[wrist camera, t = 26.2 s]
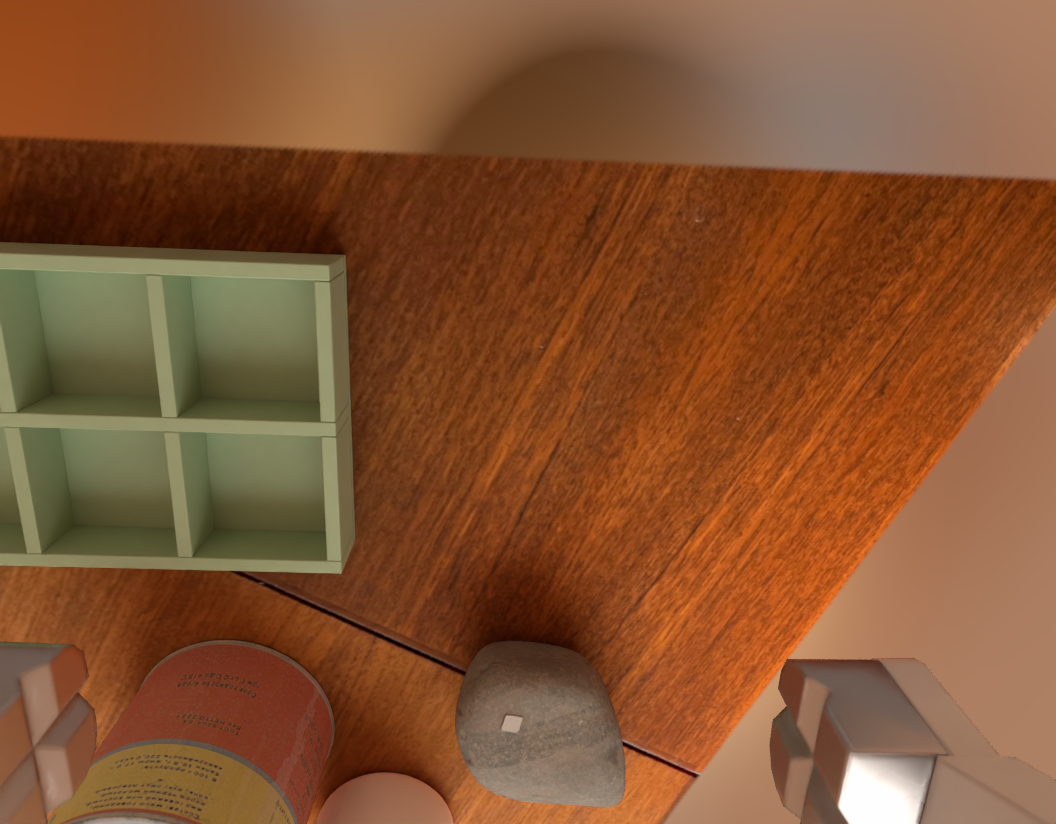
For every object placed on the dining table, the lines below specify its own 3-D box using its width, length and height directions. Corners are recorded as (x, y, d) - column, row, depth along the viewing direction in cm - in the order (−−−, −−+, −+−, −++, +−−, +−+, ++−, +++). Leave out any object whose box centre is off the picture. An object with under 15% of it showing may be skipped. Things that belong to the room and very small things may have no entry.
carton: (-137, 236, 35) (-205, 244, 32) (345, 254, 36) (329, 264, 33) (-71, 529, 40) (-123, 562, 37) (355, 539, 41) (341, 574, 37)
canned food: (105, 751, 45) (-34, 955, 33) (183, 606, 42) (61, 775, 30) (282, 827, 47) (209, 1043, 35) (369, 693, 44) (319, 883, 32)
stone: (459, 783, 46) (449, 851, 36) (463, 628, 47) (454, 652, 37) (610, 783, 46) (641, 850, 36) (609, 629, 47) (639, 654, 38)
